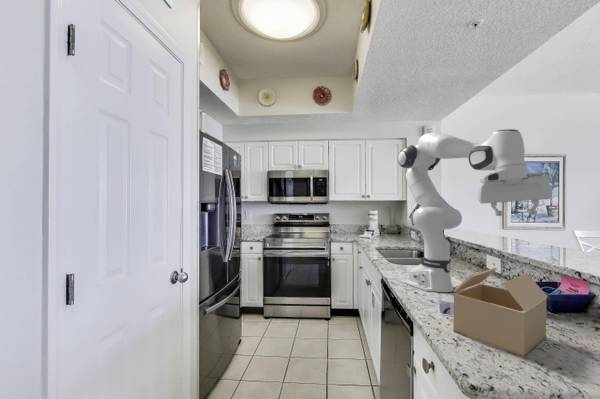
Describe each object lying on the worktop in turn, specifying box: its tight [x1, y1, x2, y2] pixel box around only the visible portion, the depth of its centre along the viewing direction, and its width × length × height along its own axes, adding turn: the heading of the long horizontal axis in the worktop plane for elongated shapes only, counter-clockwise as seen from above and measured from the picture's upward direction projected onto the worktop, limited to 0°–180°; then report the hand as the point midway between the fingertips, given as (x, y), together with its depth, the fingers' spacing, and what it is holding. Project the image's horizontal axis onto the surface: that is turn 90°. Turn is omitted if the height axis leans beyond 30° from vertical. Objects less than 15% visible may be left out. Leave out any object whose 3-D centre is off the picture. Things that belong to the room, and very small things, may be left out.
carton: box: [453, 283, 547, 359], centre depth 86 cm, size 18×20×12 cm
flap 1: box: [452, 267, 498, 293], centre depth 91 cm, size 8×19×1 cm
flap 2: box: [502, 272, 548, 311], centre depth 81 cm, size 8×19×1 cm
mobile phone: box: [437, 300, 454, 318], centre depth 106 cm, size 8×1×15 cm
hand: (515, 214), depth 94 cm, fingers open, 8 cm apart
